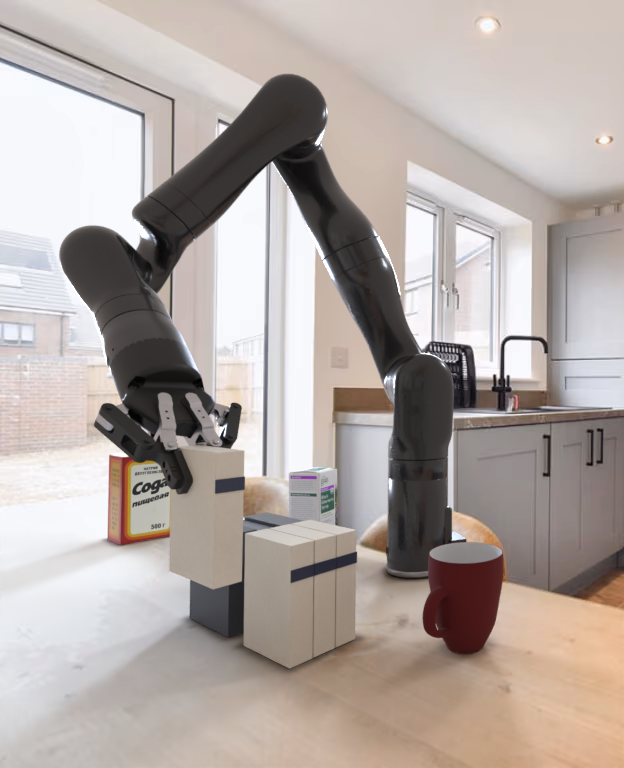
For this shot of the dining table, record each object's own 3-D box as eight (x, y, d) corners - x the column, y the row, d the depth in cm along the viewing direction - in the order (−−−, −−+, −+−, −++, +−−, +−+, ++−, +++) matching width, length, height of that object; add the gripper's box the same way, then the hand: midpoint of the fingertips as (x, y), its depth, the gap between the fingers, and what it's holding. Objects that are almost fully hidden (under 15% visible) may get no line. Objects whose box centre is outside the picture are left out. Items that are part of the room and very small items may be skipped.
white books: (309, 620, 64) (310, 519, 65) (356, 639, 59) (357, 529, 60) (243, 645, 58) (244, 533, 58) (289, 669, 53) (291, 546, 53)
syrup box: (319, 562, 87) (320, 471, 87) (287, 559, 88) (288, 470, 88) (338, 552, 92) (339, 467, 93) (307, 549, 94) (308, 466, 94)
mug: (470, 683, 50) (470, 575, 51) (398, 665, 54) (399, 564, 54) (514, 637, 60) (515, 546, 60) (451, 624, 63) (452, 538, 64)
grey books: (266, 593, 73) (267, 509, 73) (306, 609, 68) (307, 518, 68) (189, 618, 65) (190, 523, 65) (228, 637, 60) (229, 535, 60)
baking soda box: (164, 529, 108) (165, 448, 108) (178, 534, 104) (180, 451, 104) (107, 539, 100) (109, 452, 100) (120, 545, 96) (122, 455, 97)
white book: (197, 564, 54) (199, 444, 55) (242, 581, 49) (245, 450, 50) (168, 571, 52) (171, 446, 52) (213, 590, 47) (216, 452, 48)
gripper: (81, 328, 51) (132, 468, 44) (229, 341, 63) (288, 454, 55) (61, 384, 54) (105, 524, 47) (205, 387, 66) (259, 500, 58)
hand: (204, 485), depth 51 cm, fingers closed on white book, 2 cm apart
